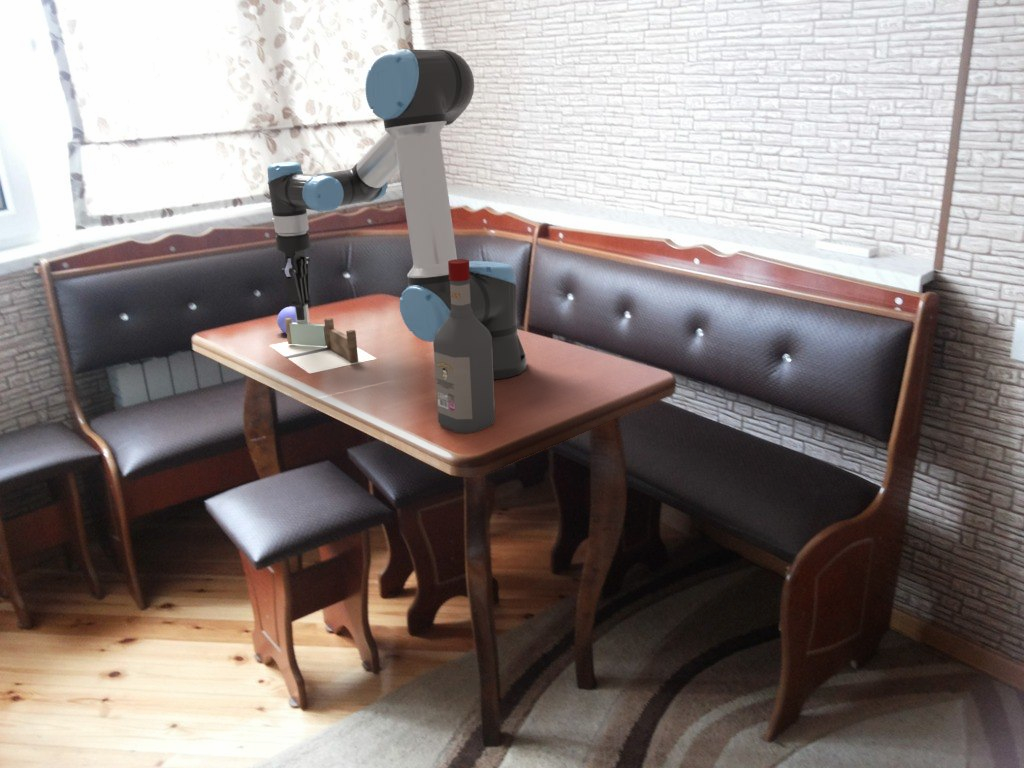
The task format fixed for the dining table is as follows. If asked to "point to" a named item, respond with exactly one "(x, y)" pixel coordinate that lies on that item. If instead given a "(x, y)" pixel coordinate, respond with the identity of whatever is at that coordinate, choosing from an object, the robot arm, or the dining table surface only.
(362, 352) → the card
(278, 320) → the sphere
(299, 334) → the folding fence panel
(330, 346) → the fixed fence section
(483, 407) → the liquor
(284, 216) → the robot arm
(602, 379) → the dining table surface
